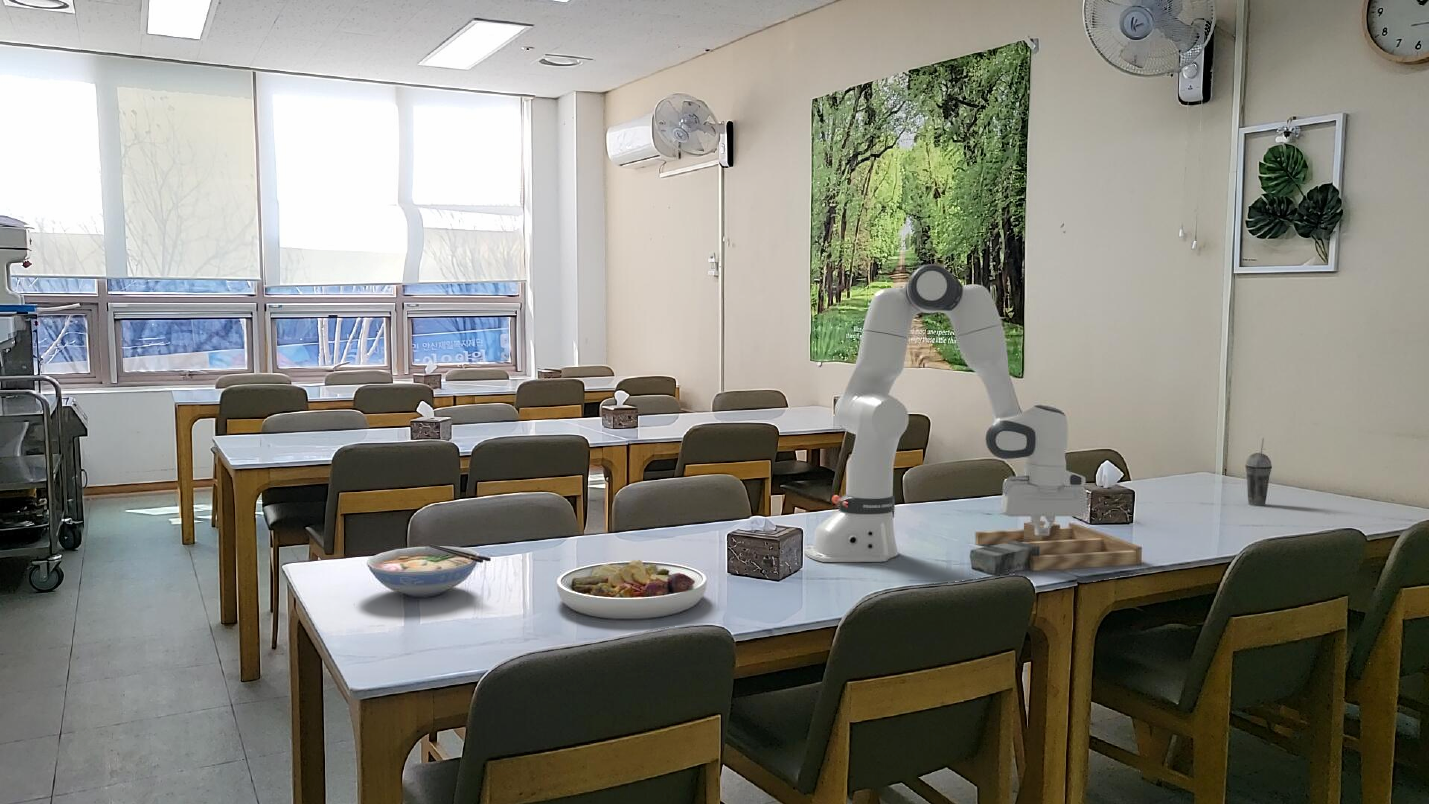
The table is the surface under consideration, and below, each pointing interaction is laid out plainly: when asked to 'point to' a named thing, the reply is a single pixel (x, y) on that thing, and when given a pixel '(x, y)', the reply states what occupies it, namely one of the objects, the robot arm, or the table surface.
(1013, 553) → the stone block
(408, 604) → the table surface
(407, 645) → the table surface
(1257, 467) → the beverage cup
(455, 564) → the ramen bowl
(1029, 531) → the walnut block
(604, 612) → the bowl
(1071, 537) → the divided wooden tray
